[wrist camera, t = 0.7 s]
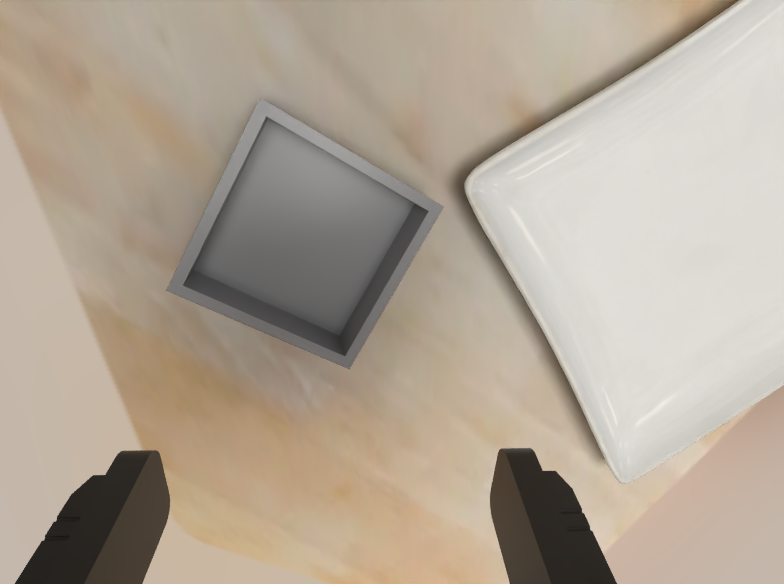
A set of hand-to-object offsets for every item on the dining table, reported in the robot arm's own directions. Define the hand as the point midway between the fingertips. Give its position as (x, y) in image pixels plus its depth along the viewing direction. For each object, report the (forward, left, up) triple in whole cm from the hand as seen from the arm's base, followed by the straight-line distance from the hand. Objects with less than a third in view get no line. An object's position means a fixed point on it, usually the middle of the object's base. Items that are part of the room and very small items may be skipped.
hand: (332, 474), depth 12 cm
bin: (-1, +2, -19) cm, 20 cm away
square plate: (+23, +14, -20) cm, 34 cm away
